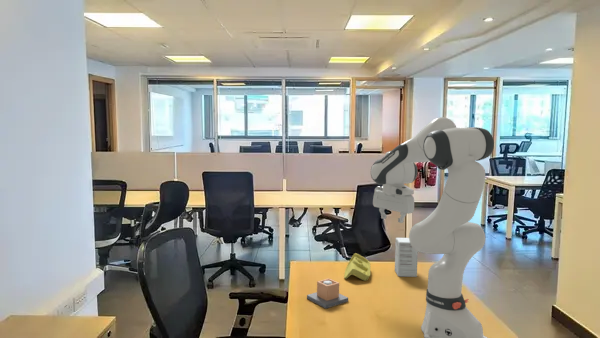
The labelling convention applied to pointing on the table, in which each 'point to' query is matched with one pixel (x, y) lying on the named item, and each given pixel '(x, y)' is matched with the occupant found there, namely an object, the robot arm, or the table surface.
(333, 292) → the sleeve
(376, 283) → the table surface
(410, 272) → the supplement box
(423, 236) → the robot arm
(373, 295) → the table surface
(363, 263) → the plastic component
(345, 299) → the base
